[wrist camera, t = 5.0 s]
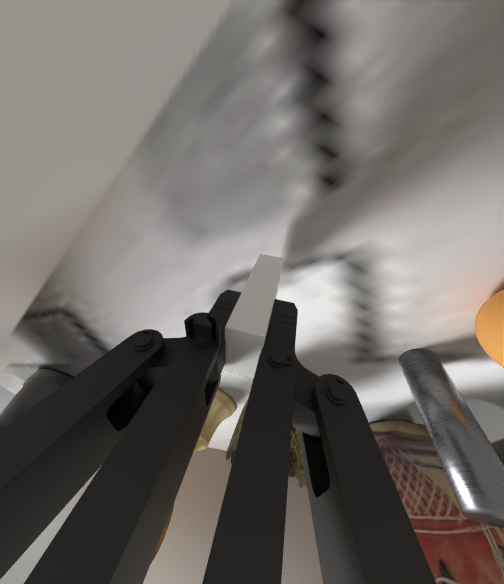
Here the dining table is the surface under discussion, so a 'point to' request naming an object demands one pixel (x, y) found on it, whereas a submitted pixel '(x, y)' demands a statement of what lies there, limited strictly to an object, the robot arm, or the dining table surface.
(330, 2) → the dining table surface
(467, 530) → the ceramic jug
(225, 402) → the hand bell
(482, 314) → the ball
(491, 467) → the gate post
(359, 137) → the dining table surface
